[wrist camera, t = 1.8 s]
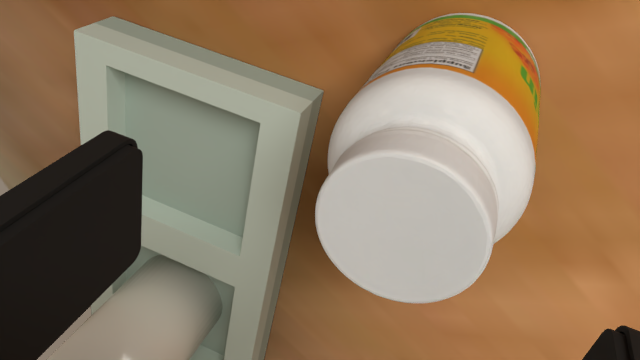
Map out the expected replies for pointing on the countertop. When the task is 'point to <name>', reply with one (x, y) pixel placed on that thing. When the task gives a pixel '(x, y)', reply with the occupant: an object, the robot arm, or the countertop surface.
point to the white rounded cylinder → (149, 317)
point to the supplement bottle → (432, 160)
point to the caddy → (204, 165)
